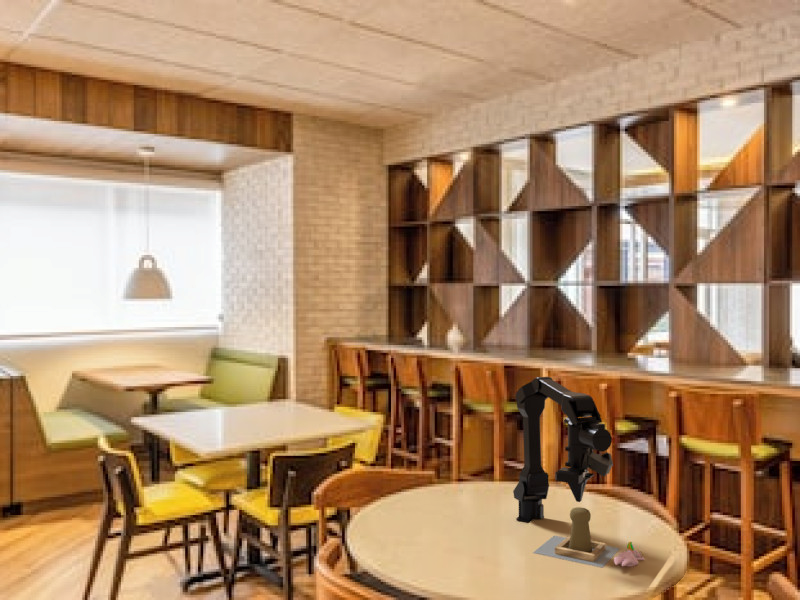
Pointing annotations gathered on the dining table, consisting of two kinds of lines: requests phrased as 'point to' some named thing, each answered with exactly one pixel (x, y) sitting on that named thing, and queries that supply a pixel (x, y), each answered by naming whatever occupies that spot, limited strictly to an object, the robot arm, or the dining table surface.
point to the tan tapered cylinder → (580, 530)
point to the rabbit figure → (628, 556)
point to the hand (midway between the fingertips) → (578, 501)
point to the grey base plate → (549, 550)
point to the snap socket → (592, 556)
